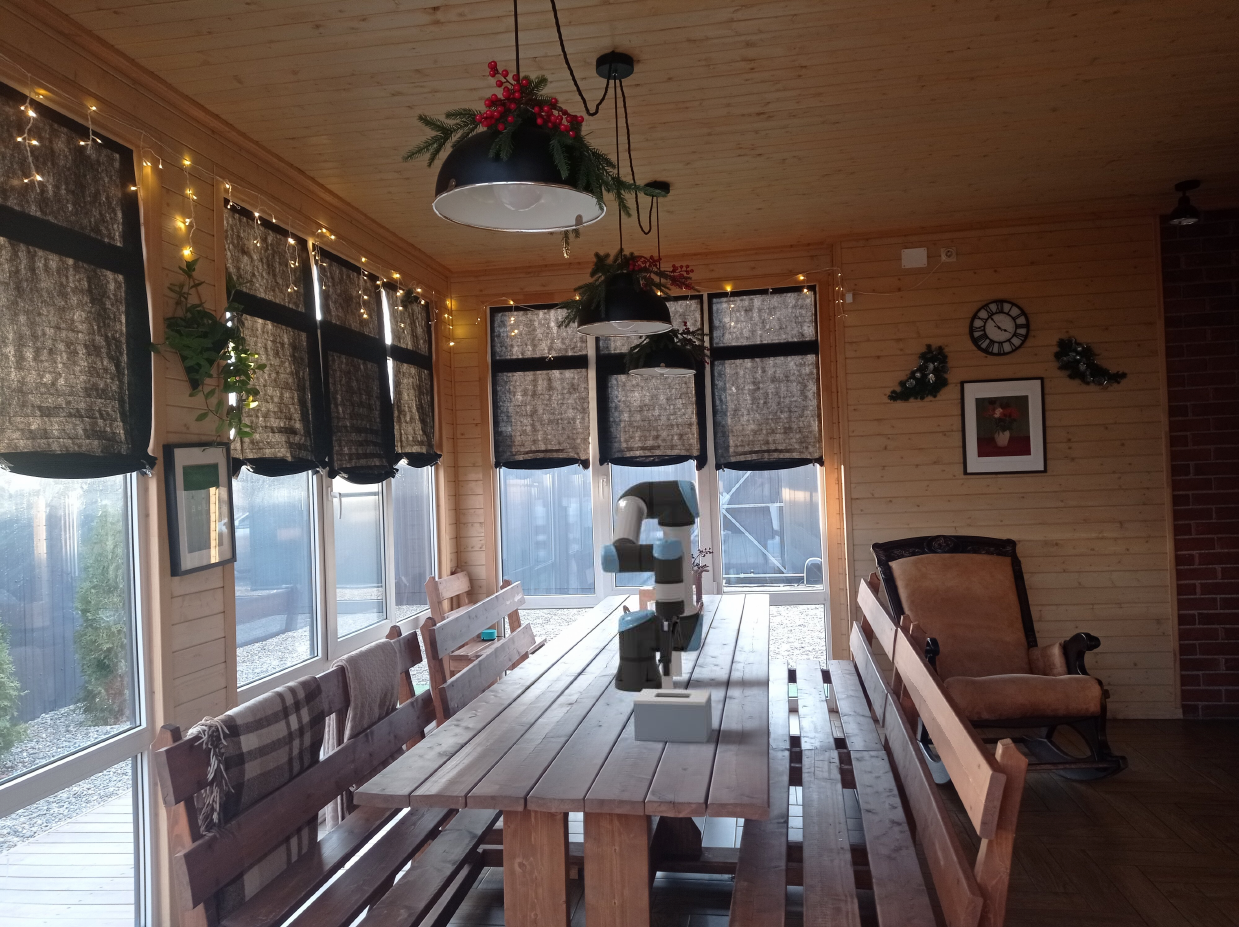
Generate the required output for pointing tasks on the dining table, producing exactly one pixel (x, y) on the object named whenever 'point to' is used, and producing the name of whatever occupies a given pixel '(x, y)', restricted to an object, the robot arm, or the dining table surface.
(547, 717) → the dining table surface
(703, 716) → the coin box
